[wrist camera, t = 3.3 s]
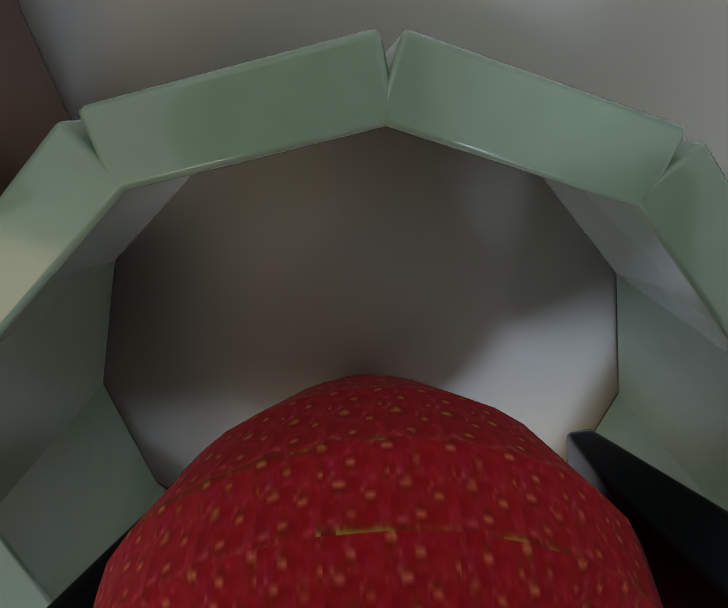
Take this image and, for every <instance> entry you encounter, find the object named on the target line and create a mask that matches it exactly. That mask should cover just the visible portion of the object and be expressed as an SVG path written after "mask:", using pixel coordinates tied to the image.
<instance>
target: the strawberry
mask: <svg viewBox="0 0 728 608" xmlns="http://www.w3.org/2000/svg"><path fill="white" fill-rule="evenodd" d="M93 608H664V607H663V604H662V602H661V599H660V596H659V593H658V590H657V587H656V584H655V581H654V578H653V575H652V572H651V570H650V567H649V564H648V561H647V558H646V555H645V552H644V549H643V547H642V545H641V543H640V541H639V539H638V537H637V535H636V533H635V532H634V530H633V528H632V526H631V524H630V522H629V520H628V518H627V517H626V516H624V515H623V514H622V513H621V512H620V511H619V510H618V509H617V508H616V507H615V506H614V505H613V504H612V503H611V502H610V501H609V500H608V499H607V498H606V497H605V496H604V495H602V494H601V493H600V492H599V491H598V490H597V489H596V488H595V487H594V486H593V485H591V484H590V483H589V482H588V481H587V480H586V479H585V478H584V477H582V476H581V475H580V474H579V473H578V472H577V471H576V470H575V469H573V468H572V467H571V466H570V465H569V464H568V463H567V462H565V461H564V460H563V459H562V458H561V457H560V456H559V455H558V454H556V453H555V452H554V451H553V450H552V449H551V448H550V447H549V446H547V445H546V444H545V443H544V442H543V441H542V440H541V439H540V438H538V437H537V436H536V435H535V434H534V433H533V432H532V431H531V430H529V429H528V428H527V427H526V426H525V425H524V424H522V423H520V422H519V421H517V420H515V419H513V418H512V417H510V416H508V415H506V414H505V413H503V412H501V411H499V410H498V409H496V408H494V407H491V406H488V405H485V404H482V403H480V402H477V401H474V400H471V399H468V398H465V397H462V396H459V395H456V394H453V393H450V392H447V391H444V390H441V389H438V388H435V387H432V386H429V385H426V384H423V383H420V382H417V381H414V380H410V379H405V378H399V377H393V376H378V375H372V374H358V375H352V376H347V377H344V378H341V379H336V380H332V381H328V382H324V383H321V384H318V385H316V386H313V387H311V388H308V389H305V390H303V391H301V392H299V393H297V394H295V395H293V396H291V397H289V398H287V399H286V400H284V401H282V402H280V403H278V404H276V405H274V406H272V407H270V408H268V409H266V410H264V411H262V412H260V413H258V414H256V415H255V416H253V417H251V418H249V419H248V420H246V421H244V422H242V423H241V424H239V425H237V426H235V427H234V428H232V429H230V430H228V431H227V432H225V433H224V434H223V435H221V436H220V437H219V438H218V439H217V440H215V441H214V442H213V443H212V444H211V445H209V446H208V447H207V448H206V449H205V450H204V451H202V452H201V453H200V454H199V455H198V456H197V457H196V458H195V460H194V461H193V462H192V463H191V464H190V465H189V466H188V467H187V468H186V469H185V471H184V472H183V473H182V474H181V475H180V476H179V477H178V478H177V479H176V481H175V482H174V483H173V484H172V485H171V486H170V487H169V488H168V489H167V491H166V492H165V493H164V494H163V495H162V496H161V497H160V498H159V499H158V500H157V502H156V503H155V504H154V505H153V506H152V507H151V508H150V509H149V510H148V512H147V513H146V514H145V515H144V516H143V517H142V518H141V519H140V520H139V521H138V523H137V524H136V525H135V526H134V527H133V528H132V529H131V530H130V531H129V533H128V534H127V536H126V537H125V538H124V540H123V541H122V542H121V544H120V545H119V546H118V548H117V549H116V551H115V552H114V553H113V555H112V556H111V557H110V559H109V560H108V562H107V565H106V568H105V571H104V574H103V577H102V580H101V583H100V586H99V589H98V592H97V595H96V599H95V602H94V606H93Z"/></svg>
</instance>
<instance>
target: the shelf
mask: <svg viewBox="0 0 728 608" xmlns="http://www.w3.org/2000/svg"><path fill="white" fill-rule="evenodd" d="M69 120H70V118H69V116H68V114H67V112H66V110H65V107H64V105H63V103H62V101H61V99H60V96H59V94H58V92H57V90H56V88H55V85H54V83H53V81H52V79H51V77H50V74H49V72H48V70H47V68H46V66H45V63H44V61H43V59H42V57H41V55H40V52H39V50H38V48H37V46H36V43H35V41H34V39H33V37H32V35H31V32H30V30H29V28H28V26H27V24H26V21H25V19H24V17H23V15H22V13H21V10H20V8H19V6H18V4H17V2H16V0H0V196H1V194H2V193H3V192H4V191H5V189H6V188H7V187H8V185H9V184H10V183H11V181H12V180H13V179H14V177H15V176H16V175H17V173H18V172H19V171H20V170H21V168H22V167H23V166H24V164H25V163H26V162H27V160H28V159H29V158H30V156H31V155H32V154H33V152H34V151H35V150H36V149H37V147H38V146H39V145H40V143H41V142H42V141H43V139H44V138H45V137H46V135H47V134H48V133H49V132H50V130H51V129H52V128H53V126H54V125H55V124H56V123H58V122H60V121H69Z"/></svg>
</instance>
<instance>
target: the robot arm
mask: <svg viewBox="0 0 728 608" xmlns="http://www.w3.org/2000/svg"><path fill="white" fill-rule="evenodd" d="M566 444H567V457H568V464H569V465H570V466H571V467H572V468H573V469H575V470H576V471H577V472H578V473H579V474H580V475H581V476H582V477H584V478H585V479H586V480H587V481H588V482H589V483H590V484H591V485H593V486H594V487H595V488H596V489H597V490H598V491H599V492H600V493H601V494H602V495H604V496H605V497H606V498H607V499H608V500H609V501H610V502H611V503H612V504H613V505H614V506H615V507H616V508H617V509H618V510H619V511H620V512H621V513H622V514H623V515H624V516H626V517H627V518H628V520H629V522H630V524H631V526H632V528H633V530H634V532H635V533H636V535H637V537H638V539H639V541H640V543H641V545H642V547H643V549H644V552H645V555H646V558H647V561H648V564H649V567H650V570H651V572H652V575H653V578H654V581H655V584H656V587H657V590H658V593H659V596H660V599H661V602H662V604H663V607H664V608H728V511H727V510H725V509H723V508H722V507H720V506H718V505H717V504H715V503H713V502H712V501H710V500H708V499H707V498H705V497H703V496H702V495H700V494H698V493H697V492H695V491H693V490H692V489H690V488H688V487H687V486H685V485H683V484H682V483H680V482H678V481H677V480H675V479H673V478H672V477H670V476H668V475H667V474H665V473H663V472H662V471H660V470H658V469H657V468H655V467H653V466H652V465H650V464H648V463H647V462H645V461H643V460H642V459H640V458H638V457H637V456H635V455H633V454H632V453H630V452H628V451H627V450H625V449H623V448H622V447H620V446H618V445H617V444H615V443H613V442H612V441H610V440H608V439H607V438H605V437H603V436H602V435H600V434H598V433H597V432H595V431H593V430H582V431H577V432H572V433H569V434H568V435H567V438H566ZM144 515H145V514H144ZM144 515H143V516H144ZM143 516H142V517H143ZM142 517H140V518H139V519H138V520H137V521H136V522H135V523H134V524H133V525H132V526H131V527H130V528H129V529H128V530H127V531H126V532H125V533H124V534H123V535H122V536H121V537H120V538H119V539H118V540H116V541H115V542H114V543H113V544H112V545H111V546H110V547H109V548H108V549H107V550H106V551H105V552H104V553H103V554H102V555H101V556H100V557H99V558H98V559H97V560H96V561H95V562H93V563H92V564H91V565H90V566H89V567H88V568H87V569H86V570H85V571H84V572H83V573H82V574H81V575H80V576H79V577H78V578H77V579H76V580H75V581H74V582H73V583H72V584H70V585H69V586H68V587H67V588H66V589H65V590H64V591H63V592H62V593H61V594H60V595H59V596H58V597H57V598H56V599H55V600H54V601H53V602H52V603H51V604H50V605H48V606H47V607H46V608H93V606H94V602H95V599H96V595H97V592H98V589H99V586H100V583H101V580H102V577H103V574H104V571H105V568H106V565H107V562H108V560H109V559H110V557H111V556H112V555H113V553H114V552H115V551H116V549H117V548H118V546H119V545H120V544H121V542H122V541H123V540H124V538H125V537H126V536H127V534H128V533H129V531H130V530H131V529H132V528H133V527H134V526H135V525H136V524H137V523H138V521H139V520H140V519H141V518H142Z"/></svg>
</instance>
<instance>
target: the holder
mask: <svg viewBox="0 0 728 608" xmlns="http://www.w3.org/2000/svg"><path fill="white" fill-rule="evenodd" d="M79 112H80V117H81V119H78V120H69V121H60V122H58V123H56V124H55V125H54V126H53V128H52V129H51V130H50V132H49V133H48V134H47V135H46V137H45V138H44V139H43V141H42V142H41V143H40V145H39V146H38V147H37V149H36V150H35V151H34V152H33V154H32V155H31V156H30V158H29V159H28V160H27V162H26V163H25V164H24V166H23V167H22V168H21V170H20V171H19V172H18V173H17V175H16V176H15V177H14V179H13V180H12V181H11V183H10V184H9V185H8V187H7V188H6V189H5V191H4V192H3V193H2V194H1V196H0V608H46V607H47V606H48V605H50V604H51V603H52V602H53V601H54V600H55V599H56V598H57V597H58V596H59V595H60V594H61V593H62V592H63V591H64V590H65V589H66V588H67V587H68V586H69V585H70V584H72V583H73V582H74V581H75V580H76V579H77V578H78V577H79V576H80V575H81V574H82V573H83V572H84V571H85V570H86V569H87V568H88V567H89V566H90V565H91V564H92V563H93V562H95V561H96V560H97V559H98V558H99V557H100V556H101V555H102V554H103V553H104V552H105V551H106V550H107V549H108V548H109V547H110V546H111V545H112V544H113V543H114V542H115V541H116V540H118V539H119V538H120V537H121V536H122V535H123V534H124V533H125V532H126V531H127V530H128V529H129V528H130V527H131V526H132V525H133V524H134V523H135V522H136V521H137V520H138V519H139V518H140V517H142V516H143V515H144V514H146V513H147V512H148V510H149V509H150V508H151V507H152V506H153V505H154V504H155V503H156V502H157V500H158V499H159V498H160V497H161V496H162V495H163V494H164V493H165V492H166V491H167V490H166V489H165V488H163V487H162V486H160V485H159V484H158V483H157V482H156V480H155V478H154V477H153V475H152V473H151V471H150V469H149V467H148V466H147V464H146V462H145V460H144V458H143V456H142V454H141V453H140V451H139V449H138V447H137V445H136V443H135V441H134V440H133V438H132V436H131V434H130V432H129V430H128V429H127V427H126V425H125V423H124V421H123V419H122V417H121V416H120V414H119V412H118V410H117V408H116V406H115V405H114V403H113V401H112V399H111V397H110V395H109V393H108V392H107V390H106V388H105V386H104V384H103V377H104V366H105V356H106V346H107V336H108V326H109V316H110V305H111V295H112V285H113V275H114V265H115V260H116V259H117V258H118V257H119V255H120V254H121V253H122V252H123V251H124V250H125V249H126V248H127V247H128V245H129V244H130V243H131V242H132V241H133V240H134V239H135V238H136V237H137V236H138V234H139V233H140V232H141V231H142V230H143V229H144V228H145V227H146V226H147V224H148V223H149V222H150V221H151V220H152V219H153V218H154V217H155V216H156V214H157V213H158V212H159V211H160V210H161V209H162V208H163V207H164V206H165V205H166V203H167V202H168V201H169V200H170V199H171V198H172V197H173V196H174V195H175V193H176V192H177V191H178V190H179V189H180V188H181V187H182V186H183V185H184V183H185V182H186V181H187V180H188V179H189V178H190V177H191V176H192V175H193V174H197V173H201V172H205V171H209V170H213V169H217V168H221V167H225V166H229V165H233V164H237V163H241V162H245V161H249V160H253V159H257V158H261V157H265V156H269V155H273V154H277V153H281V152H285V151H289V150H293V149H297V148H301V147H306V146H310V145H314V144H318V143H322V142H326V141H330V140H334V139H338V138H342V137H346V136H350V135H354V134H358V133H362V132H366V131H370V130H374V129H378V128H382V127H390V128H393V129H396V130H399V131H402V132H405V133H408V134H411V135H414V136H417V137H420V138H424V139H427V140H430V141H433V142H436V143H439V144H442V145H445V146H448V147H451V148H455V149H458V150H461V151H464V152H467V153H470V154H473V155H476V156H479V157H482V158H485V159H489V160H492V161H495V162H498V163H501V164H504V165H507V166H510V167H513V168H516V169H520V170H523V171H526V172H529V173H532V174H535V175H538V176H541V177H542V178H543V179H544V180H545V181H546V183H547V184H548V185H549V187H550V188H551V189H552V191H553V192H554V193H555V194H556V196H557V197H558V198H559V200H560V201H561V202H562V204H563V205H564V206H565V208H566V209H567V210H568V211H569V213H570V214H571V215H572V217H573V218H574V219H575V221H576V222H577V223H578V224H579V226H580V227H581V228H582V230H583V231H584V232H585V234H586V235H587V236H588V237H589V239H590V240H591V241H592V243H593V244H594V245H595V247H596V248H597V249H598V250H599V252H600V253H601V254H602V256H603V257H604V258H605V260H606V261H607V262H608V263H609V265H610V266H611V267H612V269H613V270H614V271H615V273H616V274H617V325H618V377H619V393H618V394H617V396H616V398H615V399H614V401H613V403H612V404H611V406H610V407H609V409H608V411H607V412H606V414H605V416H604V417H603V419H602V420H601V422H600V424H599V425H598V427H597V429H596V430H595V432H597V433H598V434H600V435H602V436H603V437H605V438H607V439H608V440H610V441H612V442H613V443H615V444H617V445H618V446H620V447H622V448H623V449H625V450H627V451H628V452H630V453H632V454H633V455H635V456H637V457H638V458H640V459H642V460H643V461H645V462H647V463H648V464H650V465H652V466H653V467H655V468H657V469H658V470H660V471H662V472H663V473H665V474H667V475H668V476H670V477H672V478H673V479H675V480H677V481H678V482H680V483H682V484H683V485H685V486H687V487H688V488H690V489H692V490H693V491H695V492H697V493H698V494H700V495H702V496H703V497H705V498H707V499H708V500H710V501H712V502H713V503H715V504H717V505H718V506H720V507H722V508H723V509H725V510H727V511H728V180H727V179H726V177H725V175H724V174H723V172H722V171H721V169H720V167H719V166H718V164H717V162H716V161H715V159H714V157H713V156H712V154H711V153H710V151H709V149H708V148H707V146H706V145H705V144H704V143H702V142H697V141H691V140H684V139H683V137H684V135H685V129H684V128H683V127H682V126H681V125H679V124H676V123H673V122H670V121H667V120H664V119H662V118H659V117H656V116H653V115H650V114H647V113H645V112H642V111H639V110H636V109H633V108H630V107H627V106H625V105H622V104H619V103H616V102H613V101H610V100H608V99H605V98H602V97H599V96H596V95H593V94H591V93H588V92H585V91H582V90H579V89H576V88H574V87H571V86H568V85H565V84H562V83H559V82H557V81H554V80H551V79H548V78H545V77H542V76H540V75H537V74H534V73H531V72H528V71H525V70H523V69H520V68H517V67H514V66H511V65H508V64H506V63H503V62H500V61H497V60H494V59H491V58H489V57H486V56H483V55H480V54H477V53H474V52H472V51H469V50H466V49H463V48H460V47H457V46H455V45H452V44H449V43H446V42H443V41H440V40H438V39H435V38H432V37H429V36H426V35H423V34H421V33H418V32H415V31H412V30H404V31H403V32H402V33H401V35H400V36H399V37H398V38H397V39H396V41H395V42H394V43H393V44H392V46H391V47H390V48H389V49H388V51H387V52H386V53H385V52H384V46H383V41H382V36H381V35H380V33H379V31H378V30H375V29H368V30H364V31H361V32H357V33H353V34H349V35H345V36H342V37H338V38H334V39H330V40H327V41H323V42H319V43H315V44H312V45H308V46H304V47H300V48H297V49H293V50H289V51H285V52H282V53H278V54H274V55H270V56H267V57H263V58H259V59H255V60H251V61H248V62H244V63H240V64H236V65H233V66H229V67H225V68H221V69H218V70H214V71H210V72H206V73H203V74H199V75H195V76H191V77H188V78H184V79H180V80H176V81H173V82H169V83H165V84H161V85H158V86H154V87H150V88H146V89H142V90H139V91H135V92H131V93H127V94H124V95H120V96H116V97H112V98H109V99H105V100H101V101H97V102H94V103H90V104H86V105H84V106H83V107H82V108H81V109H80V110H79Z"/></svg>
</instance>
